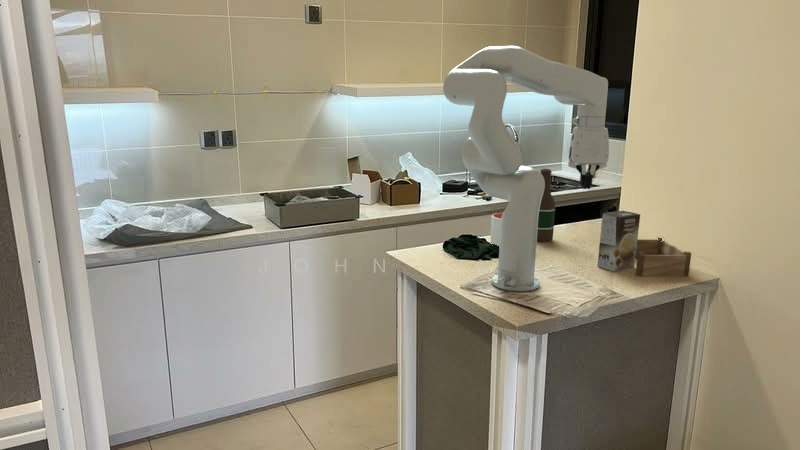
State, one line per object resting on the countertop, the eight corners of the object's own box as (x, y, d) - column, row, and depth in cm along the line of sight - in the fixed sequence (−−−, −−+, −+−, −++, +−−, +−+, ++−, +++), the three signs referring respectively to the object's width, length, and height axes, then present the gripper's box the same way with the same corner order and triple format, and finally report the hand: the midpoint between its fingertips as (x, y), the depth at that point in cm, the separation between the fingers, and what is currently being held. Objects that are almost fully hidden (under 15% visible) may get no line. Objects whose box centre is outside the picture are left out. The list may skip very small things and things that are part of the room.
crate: (688, 276, 177) (691, 252, 176) (637, 276, 176) (640, 252, 175) (659, 258, 194) (662, 236, 193) (613, 258, 194) (615, 236, 192)
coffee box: (614, 272, 180) (619, 217, 176) (596, 266, 185) (601, 212, 181) (635, 267, 185) (641, 213, 181) (617, 261, 190) (622, 209, 186)
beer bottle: (527, 240, 212) (532, 170, 206) (531, 235, 219) (536, 167, 213) (550, 243, 209) (556, 171, 204) (554, 238, 216) (559, 168, 211)
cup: (488, 241, 210) (489, 212, 208) (518, 242, 210) (519, 213, 208) (492, 250, 201) (494, 219, 198) (524, 250, 201) (526, 219, 198)
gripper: (568, 123, 170) (563, 190, 175) (622, 123, 171) (616, 190, 176) (559, 121, 178) (555, 185, 182) (611, 121, 179) (606, 185, 183)
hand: (585, 187), depth 179 cm, fingers closed
